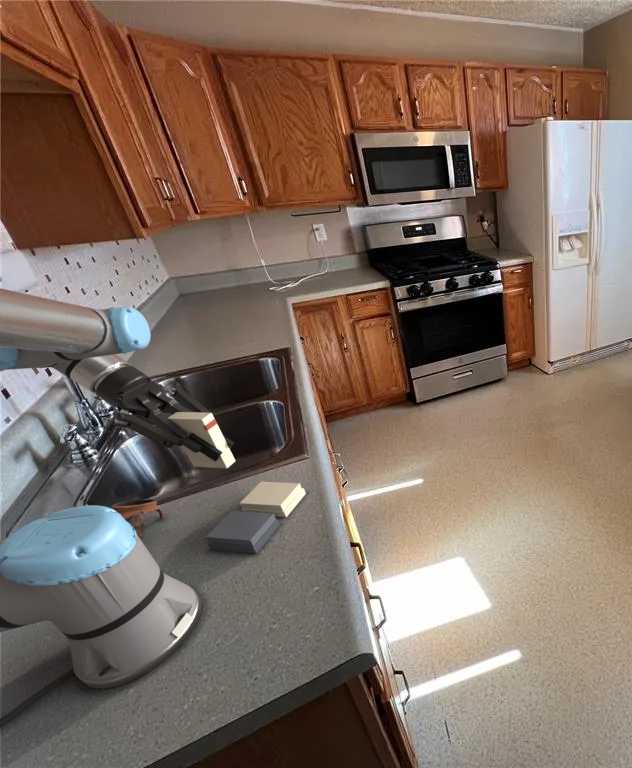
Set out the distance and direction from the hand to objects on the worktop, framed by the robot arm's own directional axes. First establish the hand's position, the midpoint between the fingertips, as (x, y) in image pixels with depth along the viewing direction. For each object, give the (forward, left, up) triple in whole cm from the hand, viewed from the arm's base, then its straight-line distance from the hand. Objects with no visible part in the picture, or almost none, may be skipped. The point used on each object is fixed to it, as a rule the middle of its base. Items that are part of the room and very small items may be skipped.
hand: (224, 451), depth 84 cm
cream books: (+3, -5, -14) cm, 15 cm away
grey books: (-5, -10, -14) cm, 18 cm away
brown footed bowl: (-18, +10, -14) cm, 25 cm away
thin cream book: (-2, +3, -3) cm, 5 cm away
